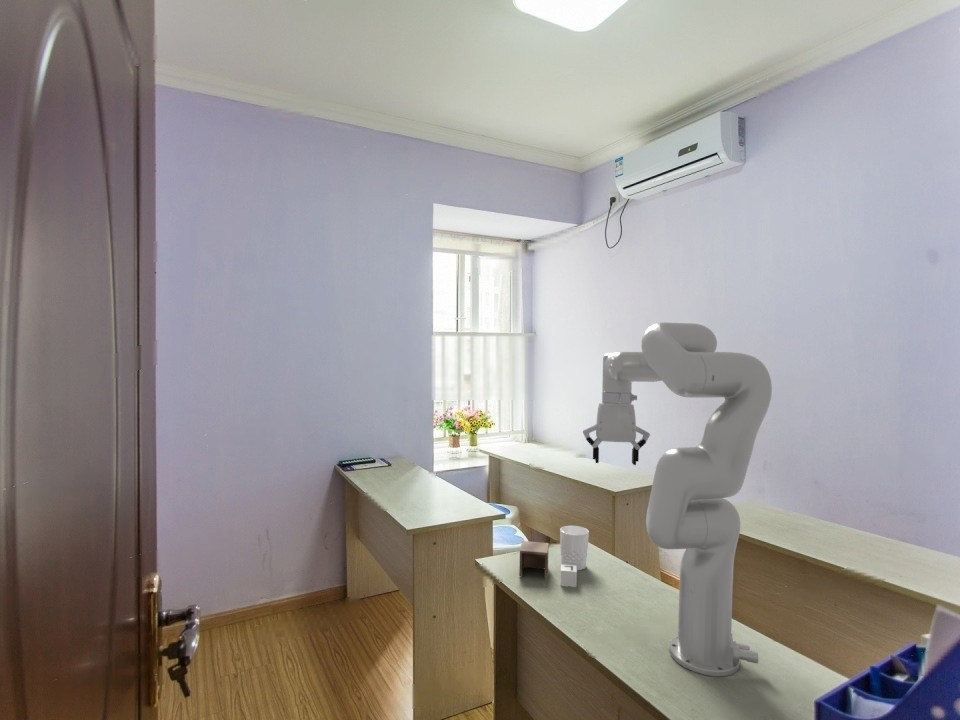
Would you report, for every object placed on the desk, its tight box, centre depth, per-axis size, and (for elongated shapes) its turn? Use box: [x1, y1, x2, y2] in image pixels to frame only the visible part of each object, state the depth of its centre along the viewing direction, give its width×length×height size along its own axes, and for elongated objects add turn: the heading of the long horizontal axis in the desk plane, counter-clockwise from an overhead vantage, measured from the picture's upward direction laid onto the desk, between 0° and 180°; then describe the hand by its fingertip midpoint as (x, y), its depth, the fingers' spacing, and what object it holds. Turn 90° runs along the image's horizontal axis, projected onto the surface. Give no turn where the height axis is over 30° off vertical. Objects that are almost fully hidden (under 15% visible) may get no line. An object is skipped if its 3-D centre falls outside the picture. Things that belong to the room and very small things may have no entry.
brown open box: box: [518, 540, 549, 580], centre depth 142 cm, size 7×7×7 cm
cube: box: [560, 564, 578, 588], centre depth 136 cm, size 4×4×4 cm
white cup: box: [559, 525, 590, 571], centre depth 147 cm, size 8×8×10 cm
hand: (615, 463), depth 141 cm, fingers open, 9 cm apart
